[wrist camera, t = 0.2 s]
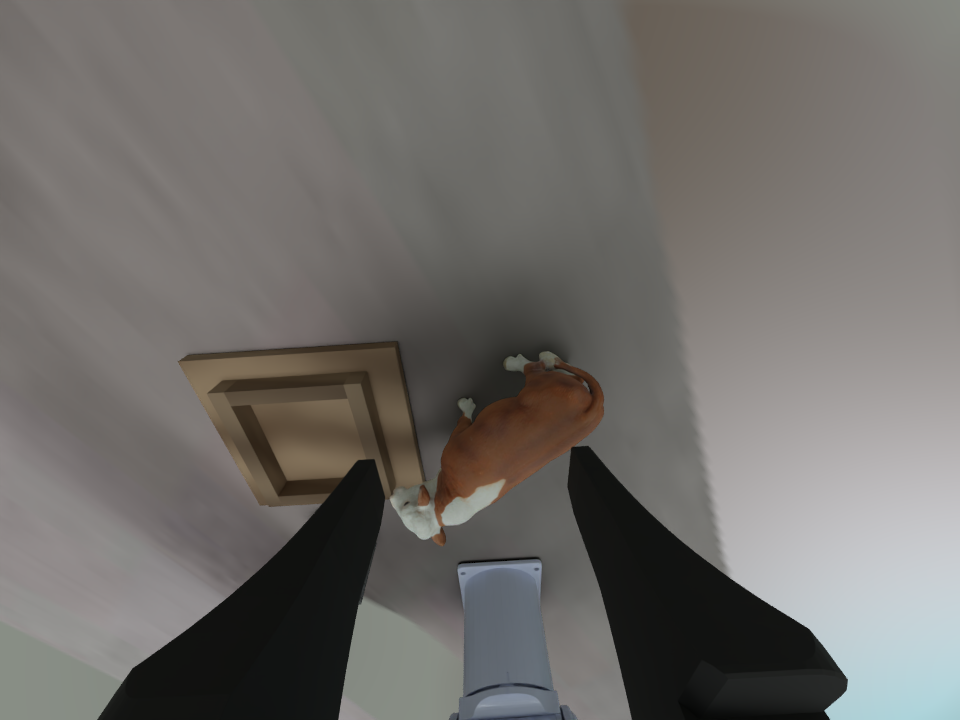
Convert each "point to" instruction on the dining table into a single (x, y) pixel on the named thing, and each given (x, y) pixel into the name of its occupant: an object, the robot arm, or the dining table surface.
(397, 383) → the brown square tray
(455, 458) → the bull figurine
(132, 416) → the dining table surface
